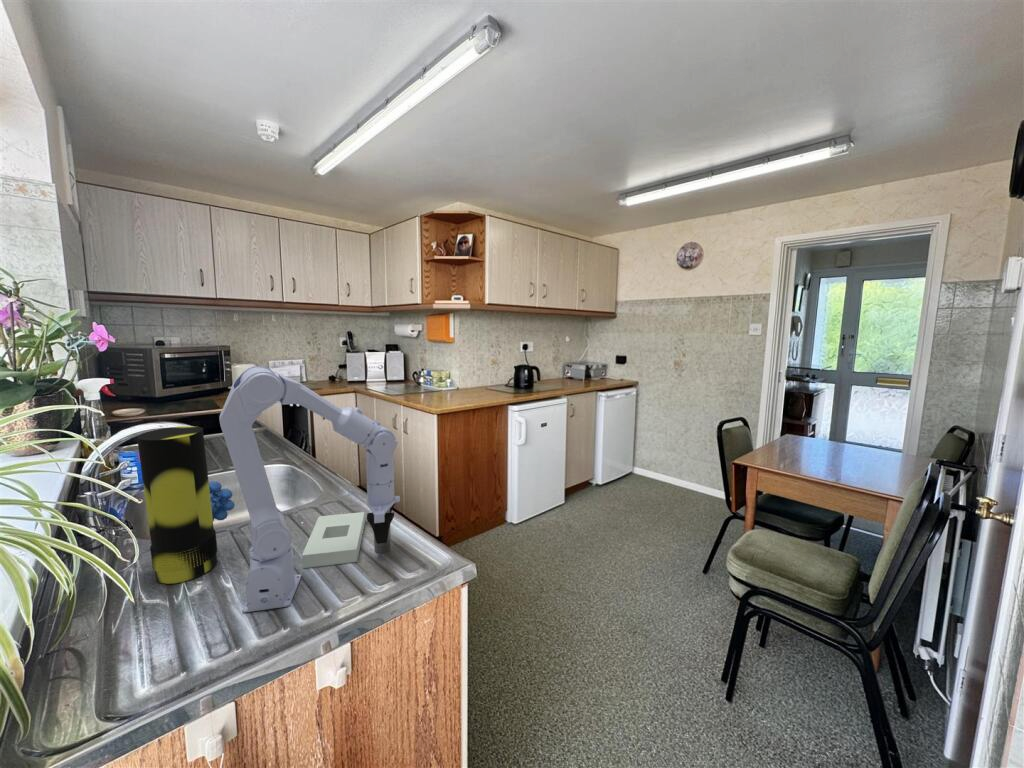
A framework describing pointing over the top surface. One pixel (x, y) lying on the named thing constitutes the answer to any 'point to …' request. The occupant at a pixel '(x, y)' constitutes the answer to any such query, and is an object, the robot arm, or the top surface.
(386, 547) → the peg
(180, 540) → the container
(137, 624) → the top surface
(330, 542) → the hole block
